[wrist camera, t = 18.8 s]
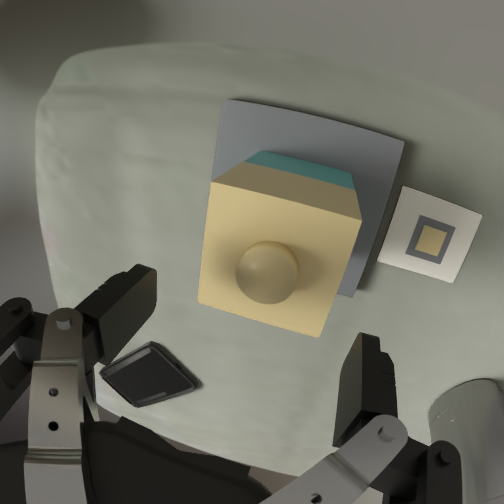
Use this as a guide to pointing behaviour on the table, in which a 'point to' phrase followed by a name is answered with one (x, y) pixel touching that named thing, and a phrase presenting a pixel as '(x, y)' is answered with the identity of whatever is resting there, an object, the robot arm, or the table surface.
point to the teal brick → (303, 168)
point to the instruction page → (429, 235)
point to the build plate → (316, 160)
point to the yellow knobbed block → (276, 246)
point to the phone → (148, 376)
